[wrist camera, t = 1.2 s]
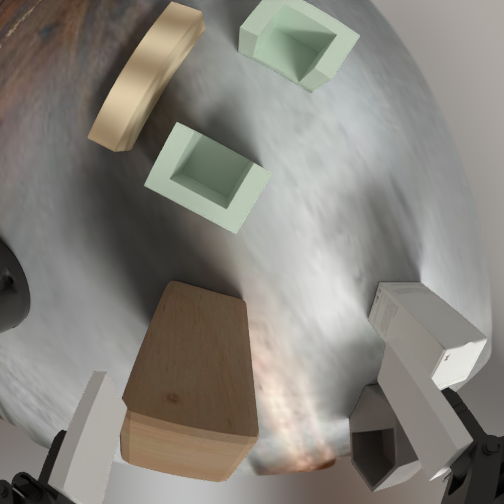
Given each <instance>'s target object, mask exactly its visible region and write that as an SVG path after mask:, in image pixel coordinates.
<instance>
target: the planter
mask: <svg viewBox="0 0 504 504" xmlns="http://www.w3.org/2000/svg"><path fill="white" fill-rule="evenodd" d="M349 427H350V442H351V462H352V464H353V466H354V467H355V468H356V470H357V471H358V473H359V474H360V476H361V477H362V479H363V480H364V481H365V483H366V484H367V486H368V487H369V488H370V490H371V491H372V492H374V491H377V490H381V489H384V488H387V487H390V486H393V485H396V484H398V483H402V482H404V481H407V480H409V479H410V478H411V477H412V476H413V475H414V474H415V473H416V472H418V471H419V470H420V469H421V468H422V465H421V463H420V461H419V459H418V457H417V455H416V453H415V451H414V449H413V447H412V445H411V443H410V441H409V439H408V437H407V435H406V433H405V431H404V429H403V427H402V425H401V423H400V422H399V420H398V418H397V416H396V414H395V412H394V410H393V408H392V407H391V405H390V403H389V401H388V399H387V397H386V395H385V394H384V392H383V390H382V388H381V386H380V385H379V384H375V385H368V386H365V388H364V390H363V392H362V394H361V396H360V398H359V400H358V402H357V404H356V406H355V408H354V410H353V412H352V414H351V416H350V418H349Z"/></svg>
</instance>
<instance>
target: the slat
mask: <svg viewBox="0 0 504 504" xmlns="http://www.w3.org/2000/svg"><path fill="white" fill-rule="evenodd" d="M204 31H205V25H204V20H203V16H202V12H201V11H199V10H196V9H193V8H190V7H187V6H184V5H181V4H178V3H175V2H171V3H170V4H169V5H168V6H167V8H166V9H165V10H164V11H163V13H162V14H161V15H160V16H159V18H158V19H157V20H156V22H155V23H154V24H153V26H152V27H151V28H150V30H149V31H148V32H147V34H146V35H145V37H144V38H143V39H142V41H141V42H140V44H139V45H138V47H137V48H136V50H135V51H134V53H133V54H132V56H131V57H130V59H129V60H128V62H127V64H126V65H125V67H124V69H123V70H122V72H121V74H120V75H119V77H118V79H117V80H116V82H115V84H114V86H113V87H112V89H111V91H110V93H109V95H108V97H107V98H106V100H105V102H104V104H103V106H102V108H101V110H100V112H99V114H98V116H97V118H96V120H95V122H94V125H93V127H92V129H91V131H90V133H89V135H88V139H90V140H92V141H94V142H96V143H98V144H100V145H102V146H104V147H106V148H108V149H110V150H112V151H114V152H115V151H131V150H132V148H133V146H134V144H135V142H136V140H137V138H138V136H139V134H140V132H141V130H142V128H143V126H144V124H145V122H146V121H147V119H148V117H149V115H150V113H151V112H152V110H153V108H154V106H155V105H156V103H157V101H158V99H159V98H160V96H161V94H162V93H163V91H164V89H165V88H166V86H167V84H168V83H169V81H170V80H171V78H172V77H173V75H174V73H175V72H176V70H177V69H178V67H179V66H180V64H181V63H182V61H183V60H184V58H185V57H186V55H187V54H188V53H189V51H190V50H191V48H192V47H193V46H194V44H195V43H196V41H197V40H198V39H199V37H200V36H201V35H202V33H203V32H204Z"/></svg>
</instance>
